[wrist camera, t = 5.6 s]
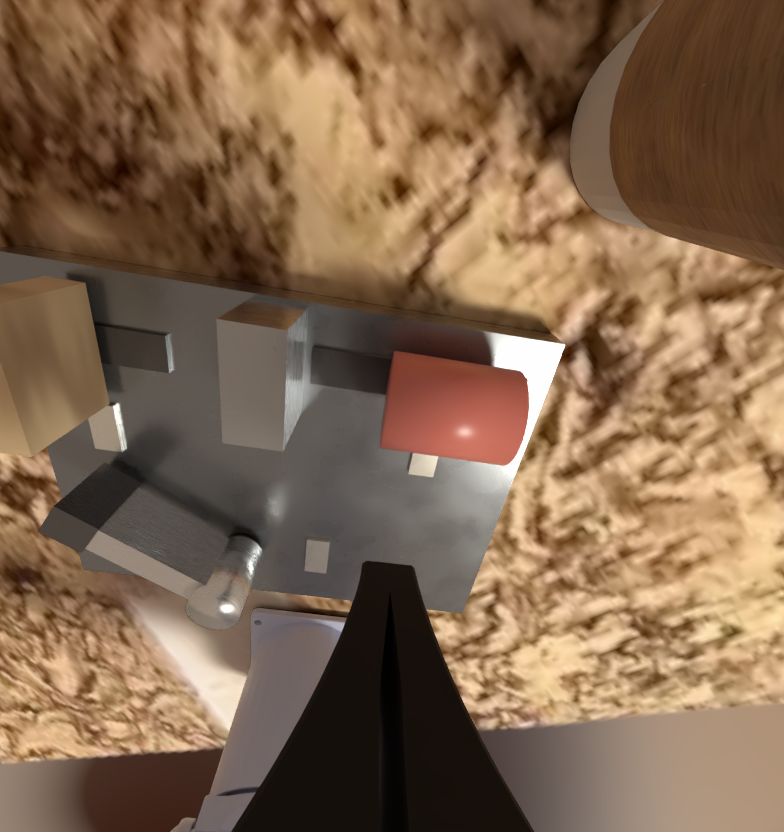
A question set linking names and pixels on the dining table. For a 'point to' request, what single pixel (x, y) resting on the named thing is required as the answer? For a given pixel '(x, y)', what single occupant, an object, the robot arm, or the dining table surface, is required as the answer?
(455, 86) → the dining table surface
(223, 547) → the lever
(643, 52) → the coffee cup
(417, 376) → the red short cylinder
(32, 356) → the paddle
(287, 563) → the panel
